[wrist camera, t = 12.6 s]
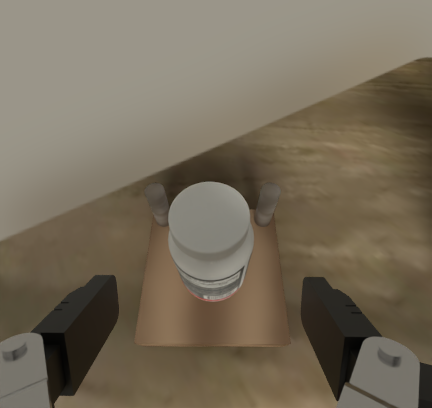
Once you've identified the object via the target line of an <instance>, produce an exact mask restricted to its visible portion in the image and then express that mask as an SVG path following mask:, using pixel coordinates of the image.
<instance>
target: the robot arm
mask: <svg viewBox="0 0 432 408" xmlns="http://www.w3.org/2000/svg"><path fill="white" fill-rule="evenodd" d="M118 314H119V304H118V294H117V283H116V278H115V276H114V275H95V276H94V277H93V278H92V279H91V280H90V281H89V282H88V283H87V284H86V285H85V286H84V287H80V288H78V289H77V290H75V291H73V292H72V293H70V294H69V295H68V296H67V297H66V298H65V299H64V300H63V301H62V302H61V304H58V305H57V306H56V307H55V308H54V311H51V312H50V313H49V314H48V315H47V316H46V317H45V318H44V319H43V320H42V321H41V322H40V323H39V324H38V325H37V326H36V327H35V328H34V329H33V330H32V331H31V332H30V333H24V334H19V335H16V336H13V337H11V338H8V339H6V340H4V341H2V342H1V343H0V408H55V406H54V403H55V401H56V400H57V398H58V397H59V396H74V395H75V393H76V391H77V389H78V388H79V386H80V384H81V383H82V381H83V379H84V377H85V376H86V374H87V372H88V371H89V369H90V367H91V365H92V364H93V362H94V360H95V359H96V357H97V355H98V353H99V352H100V350H101V348H102V347H103V345H104V343H105V341H106V340H107V338H108V336H109V334H110V333H111V331H112V329H113V328H114V326H115V324H116V322H117V319H118ZM301 320H302V324H303V327H304V329H305V331H306V334H307V336H308V338H309V340H310V343H311V345H312V347H313V349H314V351H315V354H316V356H317V358H318V360H319V363H320V365H321V367H322V369H323V372H324V374H325V376H326V378H327V381H328V383H329V385H330V387H331V389H332V392H333V394H334V396H335V398H336V401H338V404H337V407H336V408H432V365H428V364H424V363H421V362H419V360H418V359H417V357H416V356H415V355H414V353H412V352H411V351H410V350H409V349H408V348H406V347H405V346H403V345H402V344H400V343H398V342H396V341H393V340H391V339H388V338H384V337H382V336H381V334H380V333H379V332H378V331H377V330H376V328H375V327H374V326H373V325H372V324H371V322H370V321H369V320H368V319H367V318H366V316H365V315H364V314H362V312H361V310H360V309H359V308H358V307H356V304H355V303H354V302H353V301H352V300H351V298H350V297H349V296H347V295H346V294H344V293H343V292H341V291H340V290H338V289H332V287H331V286H330V285H329V283H328V282H327V281H326V279H325V278H324V277H305V278H304V280H303V288H302V301H301Z"/></svg>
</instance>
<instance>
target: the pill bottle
mask: <svg viewBox="0 0 432 408" xmlns="http://www.w3.org/2000/svg"><path fill="white" fill-rule="evenodd" d="M168 223H169V228H170V230H169V235H168V244H169V250H170V253H171V256H172V259H173V261H174V263H175V265H176V267H177V270H178V272H179V274H180V277H181V279H182V282H183V283H184V285H185V287H186V288H187V289H188V291H189V292H190V293H191V294H193V295H194V296H195V297H197V298H199V299H201V300H205V301H212V302H214V301H221V300H224V299H227V298H229V297H231V296H232V295H233V294H234V293H236V292H237V291H238V289H239V288H240V287H241V285H242V283H243V281H244V279H245V276H246V272H247V268H248V264H249V261H250V257H251V254H252V250H253V245H254V233H253V228H252V225H251V223H250V211H249V207H248V205H247V202H246V201H245V199H244V198H243V196H242V195H241V194H240V193H239V192H238V191H237V190H235V189H234V188H232V187H230V186H228V185H226V184H223V183H218V182H202V183H197V184H194V185H192V186H189V187H188V188H186V189H184V190H183V191H182V192H180V193H179V194H178V195H177V197H176V198H175V199H174V201H173V202H172V204H171V206H170V209H169V214H168Z"/></svg>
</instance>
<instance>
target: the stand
mask: <svg viewBox="0 0 432 408" xmlns="http://www.w3.org/2000/svg"><path fill="white" fill-rule="evenodd" d="M280 193H281V190H280V188H279V186H278V185H276V184H274V183H266V184H264V185H263V186H262V188H261V192H260V196H259V200H258V204H257V208H256V209H249V211H250V223H251V225H252V228H253V233H254V245H253V250H252V254H251V257H250V261H249V264H248V268H247V272H246V276H245V279H244V281H243V283H242V285H241V287H240V288H239V289H238V291H237V292H236V293H234V294H233V295H232V296H231V297H229V298H227V299H224V300H221V301H214V302H212V301H205V300H201V299H199V298H197V297H195V296H194V295H193V294H191V293H190V292H189V291H188V289H187V288H186V287H185V285H184V283H183V282H182V279H181V277H180V274H179V272H178V270H177V267H176V265H175V263H174V261H173V259H172V256H171V253H170V250H169V244H168V235H169V230H170V228H169V223H168V214H169V209H170V207H169V204H168V200H167V197H166V194H165V190H164V187H163V186H162V185H161V184H159V183H152V184H149V185H148V186H147V187H146V188H145V195H146V198H147V200H148V202H149V205H150V207H151V210H152V212H153V221H152V227H151V234H150V241H149V247H148V254H147V261H146V267H145V274H144V281H143V288H142V294H141V301H140V308H139V314H138V321H137V328H136V334H135V341H134V343H135V344H138V345H141V346H239V347H283V346H286V345H289V344H291V342H290V335H289V327H288V319H287V312H286V304H285V296H284V289H283V281H282V273H281V266H280V258H279V250H278V243H277V235H276V227H275V220H274V210H275V207H276V204H277V202H278V199H279V196H280Z"/></svg>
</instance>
